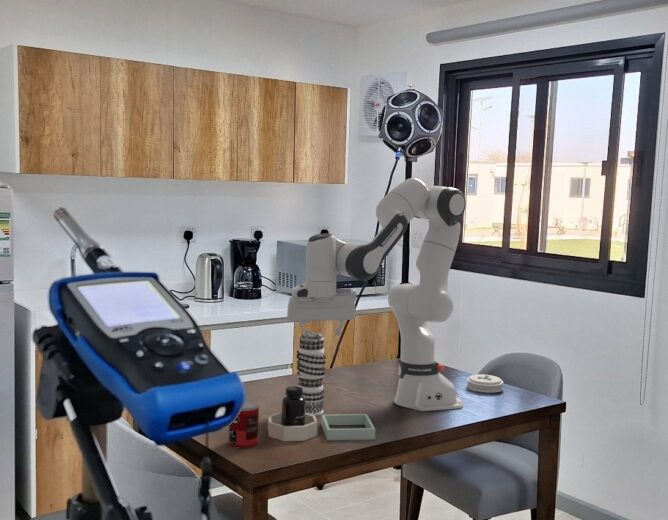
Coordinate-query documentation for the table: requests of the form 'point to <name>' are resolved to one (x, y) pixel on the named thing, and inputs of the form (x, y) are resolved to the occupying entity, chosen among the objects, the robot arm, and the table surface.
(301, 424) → the supplement bottle
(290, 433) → the bowl
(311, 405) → the decorative candle
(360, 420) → the tray
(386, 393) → the table surface
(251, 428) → the canned food
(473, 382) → the lid
